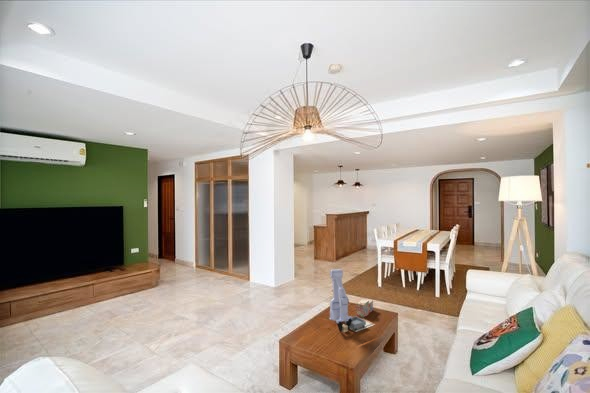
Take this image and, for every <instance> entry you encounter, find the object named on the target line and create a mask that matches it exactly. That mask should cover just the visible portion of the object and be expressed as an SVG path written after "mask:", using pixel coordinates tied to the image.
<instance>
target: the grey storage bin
mask: <svg viewBox="0 0 590 393" xmlns="http://www.w3.org/2000/svg"><path fill="white" fill-rule="evenodd" d="M363 319H364V318H362V317H361V318H360V316H357V315H356V316H352V319H351V320H352V322H351V324H350V326H351V327H353V328H354V330H356V329H357V328H358V327H361V326H363V327H364V326H365V325H366V321H365V320H363ZM344 323H345V324H346V321H344Z"/></svg>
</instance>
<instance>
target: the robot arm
mask: <svg viewBox="0 0 590 393" xmlns="http://www.w3.org/2000/svg"><path fill="white" fill-rule="evenodd" d="M343 275H344V271H343V269H342V268H337V269H330V271H329V278H330V279H331V280H332V294H333V295H332V296H333V298H331V299H330V300H329V301H330V302H329V309H330V310H329V318H328V320H331V321H334V322H336V325H337V327H338V331H339V332H340V333H343V332H342V325H343V324H344V323H343V322H345V321H346V323H345V325H347V326H348V330H350V328H349V327H350V324H351V322H352V320H351V319H352V317H353V316H352V315H348V314H349V307H348V306H349V303H350V300H349V297H348V295H347V293H346V290H345V289H346V288H345V287H344V286H343V279H342V278H343Z"/></svg>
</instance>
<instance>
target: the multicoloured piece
mask: <svg viewBox="0 0 590 393" xmlns="http://www.w3.org/2000/svg"><path fill="white" fill-rule="evenodd" d="M373 303H374V302H373V299H367V298H366V299H365V298H362V299H361V300H359V301H358V302H356V316H357V317H359V318H360V317H361V318H364V317H367V316H368V315H369V314H370V313H372V312H373V310H374V304H373Z"/></svg>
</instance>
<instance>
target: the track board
mask: <svg viewBox="0 0 590 393" xmlns="http://www.w3.org/2000/svg"><path fill="white" fill-rule="evenodd" d="M362 319H363V320H365V321H366V325H365V326H364V327H363V326H361V327H358V328H357V329H356V330H354V328H353V327H351V326H350V327H349V330H352V331H353V332H355V333H356V332H360V331H362V330H365V329H367V328H368V329H369V328H370V327H373V326H376V323H374V322H371V321H370V320H368V319H365V318H362Z"/></svg>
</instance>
